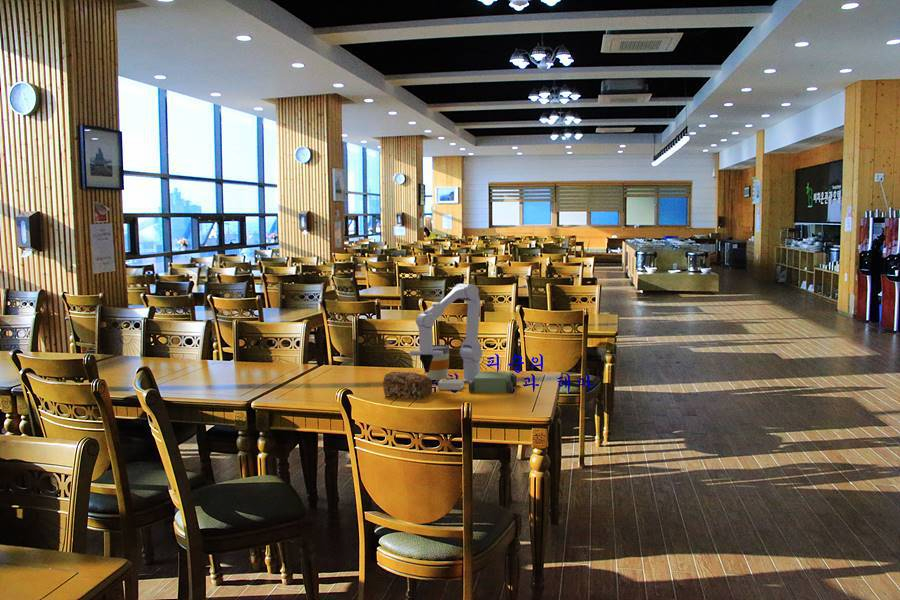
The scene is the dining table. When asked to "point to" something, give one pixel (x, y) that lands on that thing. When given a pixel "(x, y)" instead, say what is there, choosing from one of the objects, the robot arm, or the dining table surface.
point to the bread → (407, 385)
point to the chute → (450, 384)
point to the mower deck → (493, 382)
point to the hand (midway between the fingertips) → (427, 372)
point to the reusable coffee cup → (439, 363)
